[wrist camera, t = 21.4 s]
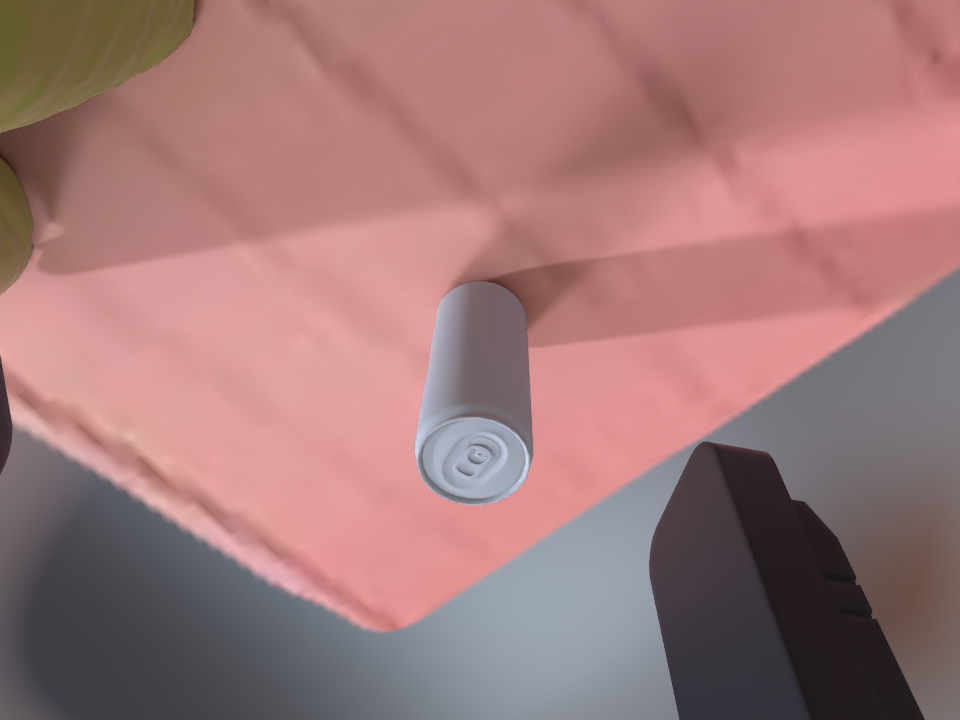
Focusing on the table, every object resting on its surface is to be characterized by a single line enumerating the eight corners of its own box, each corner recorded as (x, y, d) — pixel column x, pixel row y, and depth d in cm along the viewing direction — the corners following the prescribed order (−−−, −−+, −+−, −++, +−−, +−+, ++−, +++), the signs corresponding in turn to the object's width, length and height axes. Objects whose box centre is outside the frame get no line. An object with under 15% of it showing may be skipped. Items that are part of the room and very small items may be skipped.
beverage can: (545, 307, 41) (558, 452, 31) (492, 370, 43) (488, 525, 33) (468, 258, 40) (456, 393, 29) (417, 326, 42) (390, 473, 32)
